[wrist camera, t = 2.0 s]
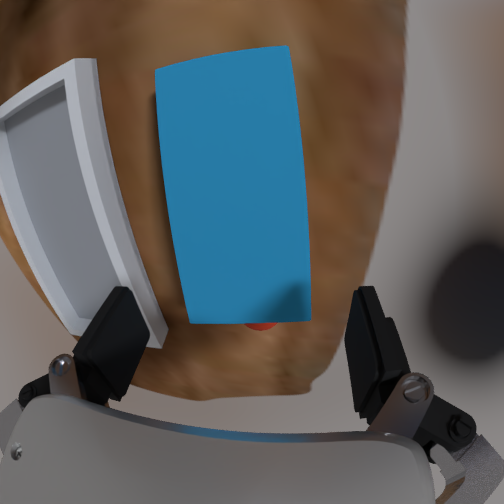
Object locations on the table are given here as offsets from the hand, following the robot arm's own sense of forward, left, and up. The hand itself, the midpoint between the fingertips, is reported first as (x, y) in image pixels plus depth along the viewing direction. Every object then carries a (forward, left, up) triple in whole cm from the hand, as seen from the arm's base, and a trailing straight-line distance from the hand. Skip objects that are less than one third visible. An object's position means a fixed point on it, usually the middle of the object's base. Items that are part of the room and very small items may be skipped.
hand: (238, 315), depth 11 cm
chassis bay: (-1, -15, -8) cm, 17 cm away
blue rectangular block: (-1, 0, -9) cm, 9 cm away
